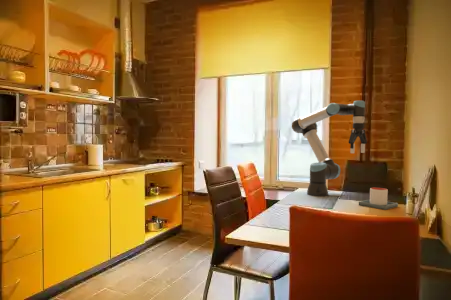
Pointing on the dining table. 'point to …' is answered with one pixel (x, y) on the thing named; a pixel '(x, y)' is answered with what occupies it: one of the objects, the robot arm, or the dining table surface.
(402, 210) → the dining table surface
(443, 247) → the dining table surface
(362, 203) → the tray
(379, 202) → the cup
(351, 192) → the dining table surface
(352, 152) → the robot arm
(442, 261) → the dining table surface
